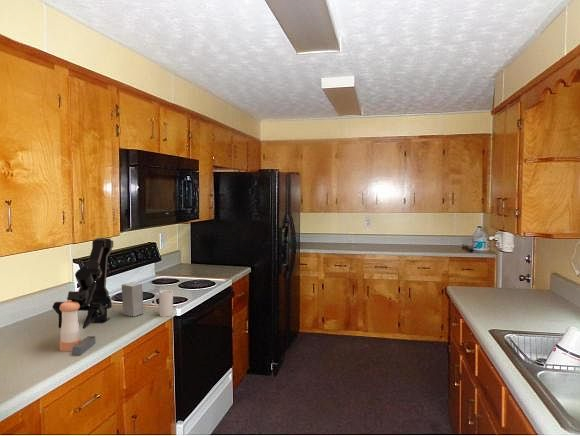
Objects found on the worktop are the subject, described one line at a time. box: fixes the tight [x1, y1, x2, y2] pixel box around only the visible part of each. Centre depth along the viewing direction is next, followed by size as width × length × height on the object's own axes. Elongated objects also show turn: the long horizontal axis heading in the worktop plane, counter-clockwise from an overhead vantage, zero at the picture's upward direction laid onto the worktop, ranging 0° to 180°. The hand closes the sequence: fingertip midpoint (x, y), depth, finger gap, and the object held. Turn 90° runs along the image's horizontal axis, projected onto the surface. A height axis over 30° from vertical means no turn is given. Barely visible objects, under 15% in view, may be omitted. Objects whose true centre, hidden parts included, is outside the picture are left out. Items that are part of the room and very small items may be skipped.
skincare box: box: [121, 281, 144, 318], centre depth 204 cm, size 8×7×16 cm
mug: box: [153, 289, 174, 318], centre depth 205 cm, size 10×7×12 cm, turn 78°
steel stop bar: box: [72, 335, 96, 356], centre depth 158 cm, size 12×3×3 cm, turn 1°
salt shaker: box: [59, 300, 82, 353], centre depth 158 cm, size 7×7×19 cm
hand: (71, 328), depth 157 cm, fingers open, 9 cm apart
